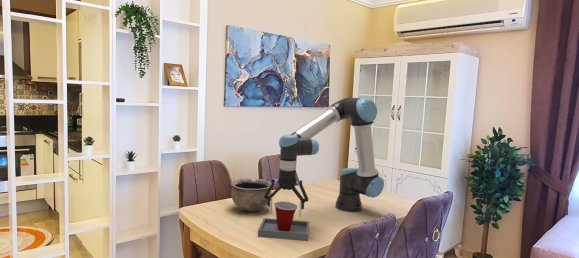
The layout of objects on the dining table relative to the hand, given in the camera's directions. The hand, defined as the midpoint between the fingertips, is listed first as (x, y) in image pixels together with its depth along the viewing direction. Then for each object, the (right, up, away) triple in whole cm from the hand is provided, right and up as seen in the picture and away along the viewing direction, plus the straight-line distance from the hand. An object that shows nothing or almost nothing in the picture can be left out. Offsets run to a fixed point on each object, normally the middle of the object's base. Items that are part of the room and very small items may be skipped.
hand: (285, 214), depth 165 cm
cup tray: (0, -8, +1) cm, 8 cm away
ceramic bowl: (-19, -5, +30) cm, 36 cm away
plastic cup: (0, -7, +1) cm, 7 cm away
